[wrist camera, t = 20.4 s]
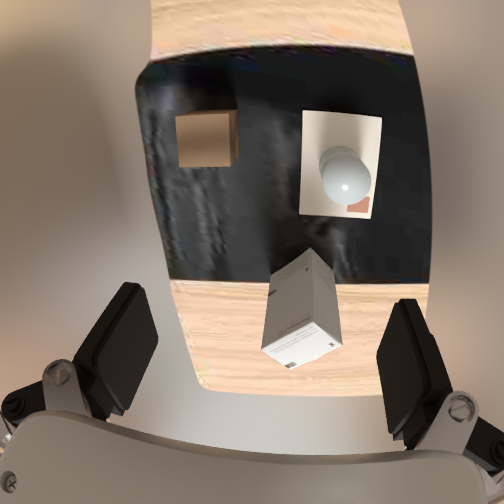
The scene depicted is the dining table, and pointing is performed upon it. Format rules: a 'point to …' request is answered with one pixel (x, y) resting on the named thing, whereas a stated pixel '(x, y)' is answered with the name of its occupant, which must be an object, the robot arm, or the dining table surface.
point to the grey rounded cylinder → (344, 175)
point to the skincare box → (301, 312)
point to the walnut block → (207, 138)
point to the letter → (331, 135)
